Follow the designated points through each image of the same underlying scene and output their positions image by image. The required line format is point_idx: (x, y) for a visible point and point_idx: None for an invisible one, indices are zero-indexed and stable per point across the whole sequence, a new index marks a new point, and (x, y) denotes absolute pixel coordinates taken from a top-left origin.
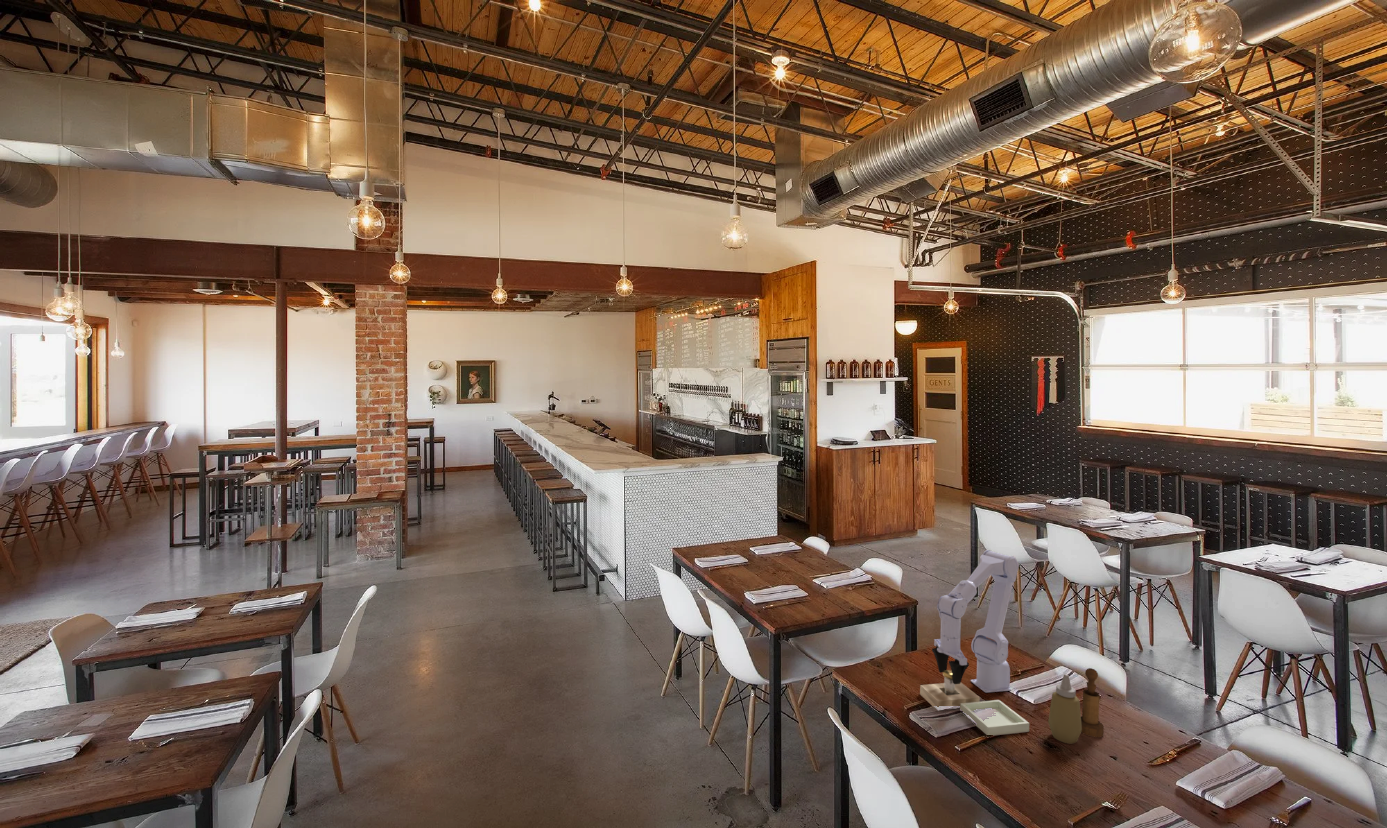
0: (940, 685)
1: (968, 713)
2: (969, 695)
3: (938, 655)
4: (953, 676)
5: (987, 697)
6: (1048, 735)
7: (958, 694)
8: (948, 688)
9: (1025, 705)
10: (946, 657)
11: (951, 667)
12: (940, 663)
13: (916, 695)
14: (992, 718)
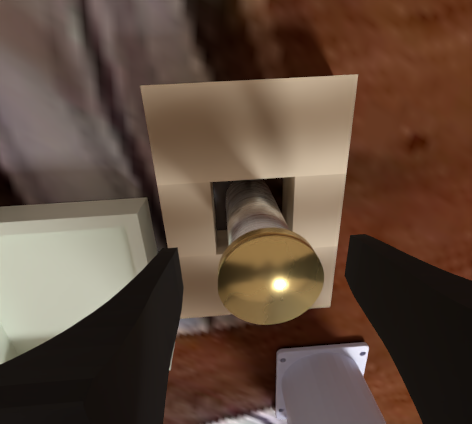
0: (320, 201)
1: (71, 211)
2: (198, 287)
3: (467, 332)
4: (135, 278)
5: (248, 340)
6: None
7: (214, 244)
8: (234, 213)
9: (186, 408)
10: (414, 379)
11: (99, 337)
12: (392, 282)
13: (329, 45)
14: (76, 290)
